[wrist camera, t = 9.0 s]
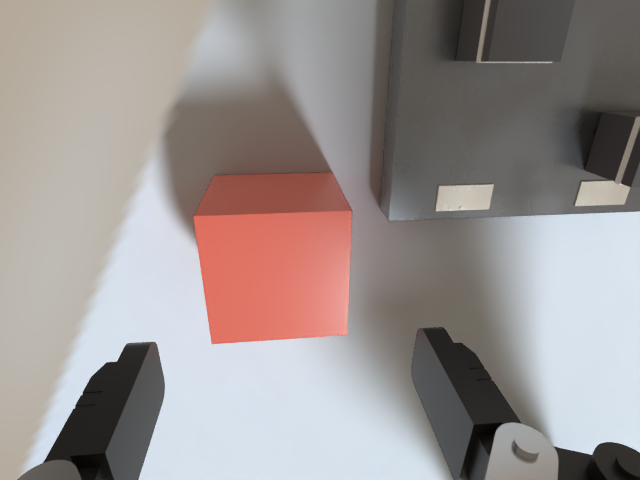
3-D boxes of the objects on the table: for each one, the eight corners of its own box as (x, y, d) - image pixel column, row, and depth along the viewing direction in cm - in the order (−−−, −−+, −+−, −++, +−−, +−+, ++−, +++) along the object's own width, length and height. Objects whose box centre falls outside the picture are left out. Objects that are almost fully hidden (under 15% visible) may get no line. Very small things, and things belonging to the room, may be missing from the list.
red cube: (330, 273, 24) (347, 335, 19) (226, 278, 24) (211, 343, 18) (332, 172, 21) (352, 210, 16) (214, 175, 21) (193, 216, 15)
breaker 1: (518, 62, 18) (561, 63, 15) (454, 62, 18) (486, 63, 15) (534, -17, 17) (584, -31, 14) (465, -19, 16) (502, -34, 14)
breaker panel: (631, 199, 24) (669, 214, 22) (379, 208, 23) (391, 225, 20) (742, -112, 18) (812, -137, 16) (403, -128, 16) (425, -160, 14)
